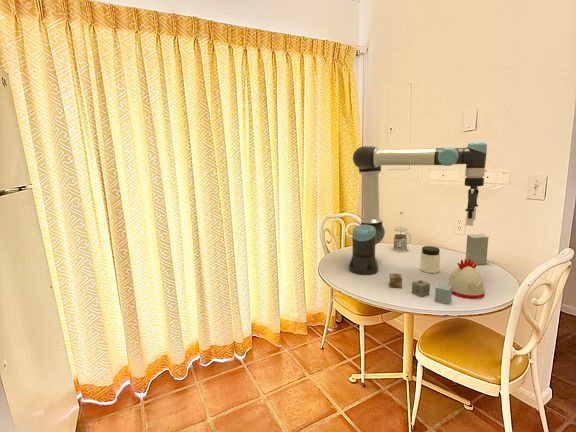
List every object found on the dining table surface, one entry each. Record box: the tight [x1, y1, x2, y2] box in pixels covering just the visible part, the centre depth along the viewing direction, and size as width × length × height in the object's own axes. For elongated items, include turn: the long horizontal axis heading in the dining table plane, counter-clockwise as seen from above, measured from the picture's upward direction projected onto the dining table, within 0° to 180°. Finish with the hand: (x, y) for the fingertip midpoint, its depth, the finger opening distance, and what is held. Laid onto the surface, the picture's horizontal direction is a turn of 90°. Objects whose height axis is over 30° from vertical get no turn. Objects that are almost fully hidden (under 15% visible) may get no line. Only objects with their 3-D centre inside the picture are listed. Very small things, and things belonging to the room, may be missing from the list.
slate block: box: [434, 283, 453, 305], centre depth 123 cm, size 5×5×6 cm
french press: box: [391, 211, 412, 254], centre depth 189 cm, size 10×12×25 cm
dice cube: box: [411, 279, 431, 298], centre depth 130 cm, size 5×5×5 cm
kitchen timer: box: [447, 258, 485, 300], centre depth 129 cm, size 14×14×15 cm
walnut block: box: [389, 273, 403, 289], centre depth 139 cm, size 5×5×5 cm
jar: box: [419, 245, 441, 274], centre depth 155 cm, size 9×8×12 cm
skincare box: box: [465, 233, 489, 266], centre depth 163 cm, size 8×7×16 cm
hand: (470, 222), depth 142 cm, fingers open, 13 cm apart
